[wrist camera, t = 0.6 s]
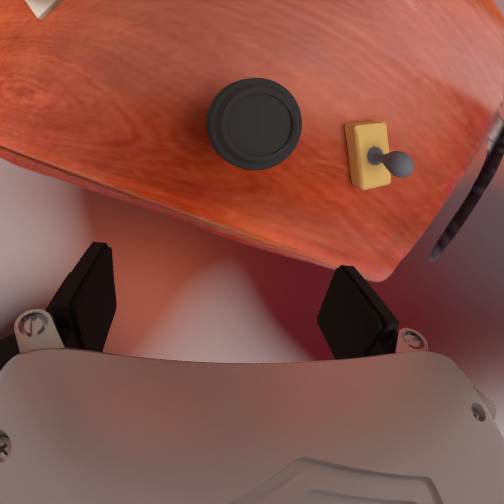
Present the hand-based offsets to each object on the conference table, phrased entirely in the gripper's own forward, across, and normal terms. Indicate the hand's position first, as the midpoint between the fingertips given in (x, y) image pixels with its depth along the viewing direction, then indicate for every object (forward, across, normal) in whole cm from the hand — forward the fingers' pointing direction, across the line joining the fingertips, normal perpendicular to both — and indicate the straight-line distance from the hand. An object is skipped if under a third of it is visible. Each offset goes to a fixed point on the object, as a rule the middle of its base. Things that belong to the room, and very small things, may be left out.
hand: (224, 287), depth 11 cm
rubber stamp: (+30, -23, -6) cm, 38 cm away
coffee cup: (+30, -3, -6) cm, 31 cm away
